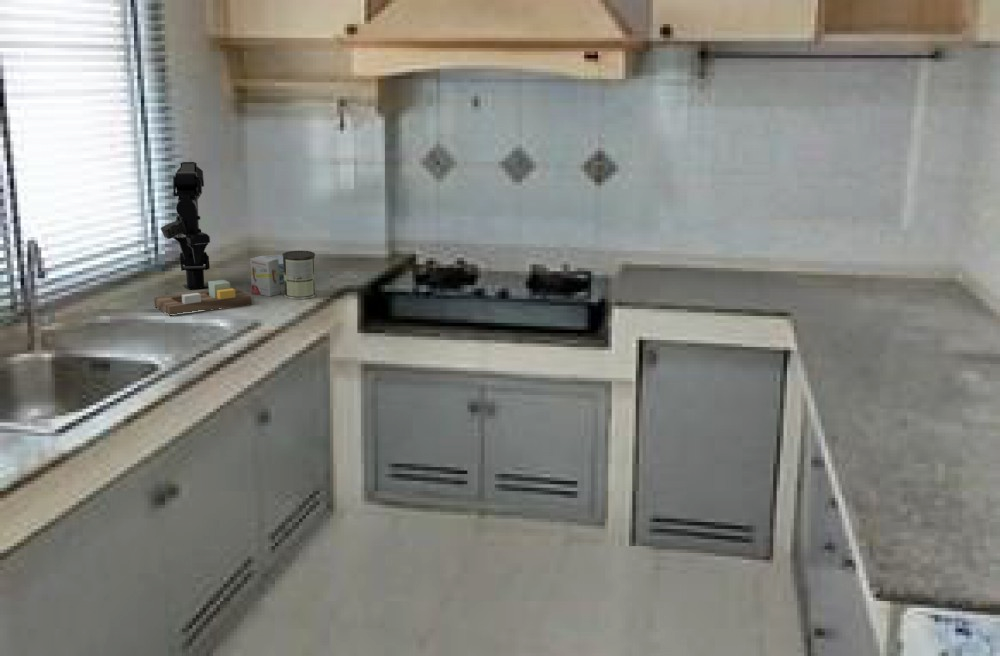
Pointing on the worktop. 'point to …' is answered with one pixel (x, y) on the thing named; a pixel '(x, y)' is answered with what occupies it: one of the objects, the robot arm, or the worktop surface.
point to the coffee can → (299, 274)
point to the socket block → (202, 301)
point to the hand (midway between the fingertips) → (191, 261)
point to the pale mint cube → (217, 287)
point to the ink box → (265, 275)
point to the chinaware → (281, 271)
